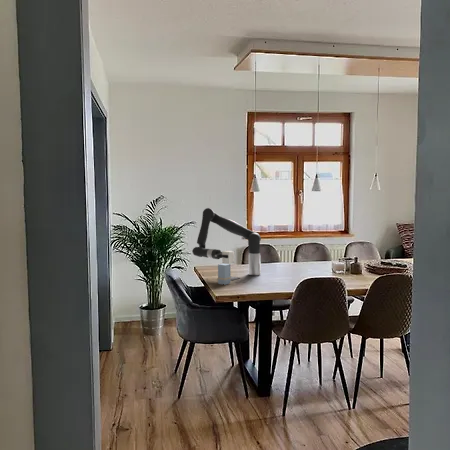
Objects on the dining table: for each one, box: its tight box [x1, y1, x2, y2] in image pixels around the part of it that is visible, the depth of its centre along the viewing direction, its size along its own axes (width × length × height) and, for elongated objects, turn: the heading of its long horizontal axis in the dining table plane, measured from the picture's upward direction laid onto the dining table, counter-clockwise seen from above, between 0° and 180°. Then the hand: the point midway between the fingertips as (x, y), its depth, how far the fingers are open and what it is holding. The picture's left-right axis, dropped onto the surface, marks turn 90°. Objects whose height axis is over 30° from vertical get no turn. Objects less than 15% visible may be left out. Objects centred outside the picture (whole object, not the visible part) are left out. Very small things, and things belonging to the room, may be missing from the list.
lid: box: [221, 250, 235, 265], centre depth 353 cm, size 6×6×9 cm
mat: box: [231, 275, 241, 281], centre depth 354 cm, size 12×12×1 cm
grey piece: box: [217, 263, 232, 286], centre depth 336 cm, size 6×6×14 cm
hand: (230, 256), depth 351 cm, fingers closed on lid, 6 cm apart
